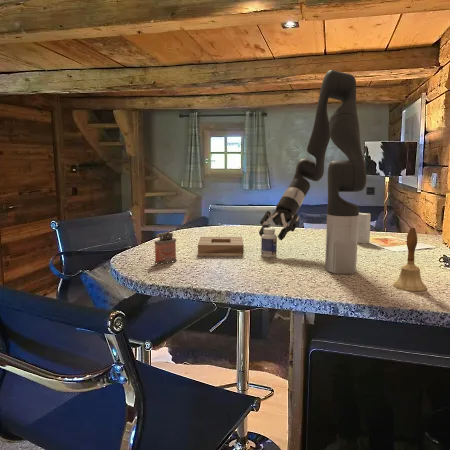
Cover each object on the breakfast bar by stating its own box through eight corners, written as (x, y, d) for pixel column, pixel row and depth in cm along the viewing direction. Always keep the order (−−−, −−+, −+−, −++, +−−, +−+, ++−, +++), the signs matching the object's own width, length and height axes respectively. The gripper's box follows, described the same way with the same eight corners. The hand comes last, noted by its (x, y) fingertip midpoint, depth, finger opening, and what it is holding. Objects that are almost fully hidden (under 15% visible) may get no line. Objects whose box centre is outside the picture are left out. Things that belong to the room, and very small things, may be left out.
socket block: (243, 256, 150) (243, 245, 149) (197, 256, 150) (197, 244, 149) (241, 247, 166) (242, 236, 165) (200, 246, 166) (200, 236, 165)
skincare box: (369, 242, 175) (371, 213, 173) (365, 244, 172) (366, 214, 170) (355, 240, 179) (357, 212, 177) (351, 242, 176) (352, 213, 174)
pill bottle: (275, 257, 148) (276, 230, 146) (260, 257, 149) (260, 229, 147) (277, 254, 153) (277, 227, 152) (262, 253, 154) (262, 227, 153)
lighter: (172, 259, 145) (171, 230, 144) (178, 261, 143) (178, 231, 141) (152, 263, 140) (151, 233, 138) (158, 265, 137) (158, 234, 136)
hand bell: (393, 289, 112) (396, 229, 109) (392, 281, 119) (396, 224, 117) (427, 293, 109) (432, 231, 106) (425, 284, 117) (429, 226, 114)
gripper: (271, 194, 159) (250, 228, 153) (302, 196, 149) (281, 233, 143) (279, 207, 164) (259, 240, 158) (310, 210, 154) (290, 246, 148)
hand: (270, 237), depth 150 cm, fingers open, 8 cm apart
